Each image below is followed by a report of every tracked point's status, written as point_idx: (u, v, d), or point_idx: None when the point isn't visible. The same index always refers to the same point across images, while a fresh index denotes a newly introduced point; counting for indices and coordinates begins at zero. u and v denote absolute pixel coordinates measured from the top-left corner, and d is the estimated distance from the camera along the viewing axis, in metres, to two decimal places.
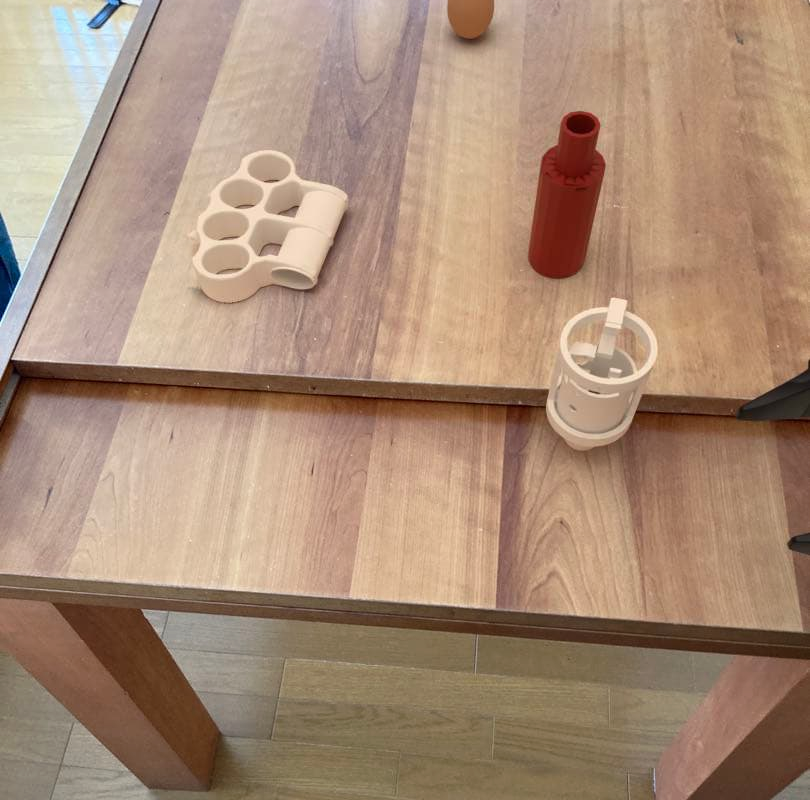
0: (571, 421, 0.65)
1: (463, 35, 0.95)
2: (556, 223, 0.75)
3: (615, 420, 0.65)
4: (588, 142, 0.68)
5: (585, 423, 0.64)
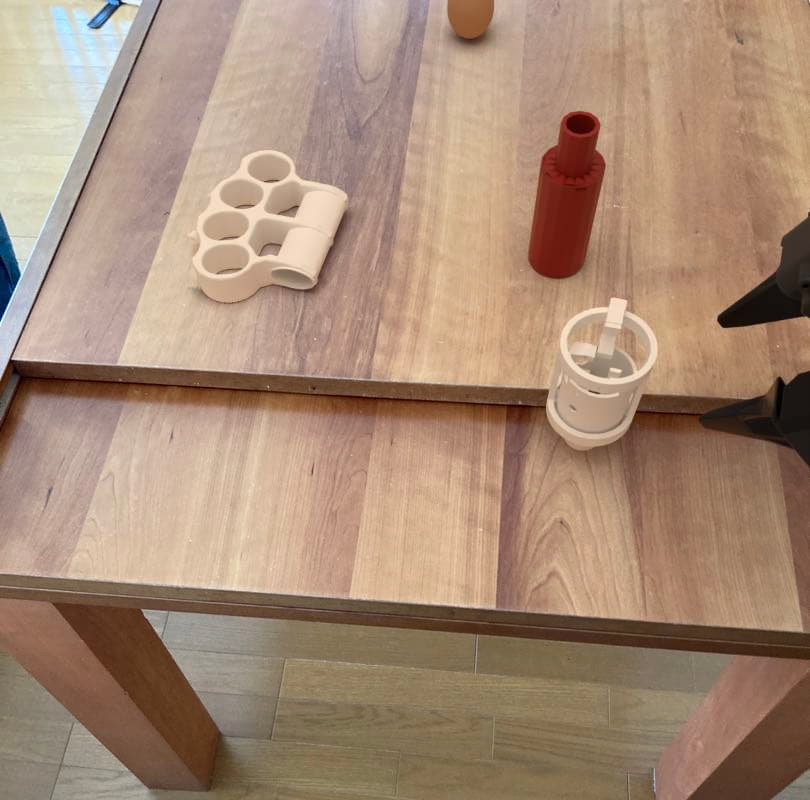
0: (571, 421, 0.65)
1: (463, 35, 0.95)
2: (556, 223, 0.75)
3: (615, 420, 0.65)
4: (588, 142, 0.68)
5: (585, 423, 0.64)
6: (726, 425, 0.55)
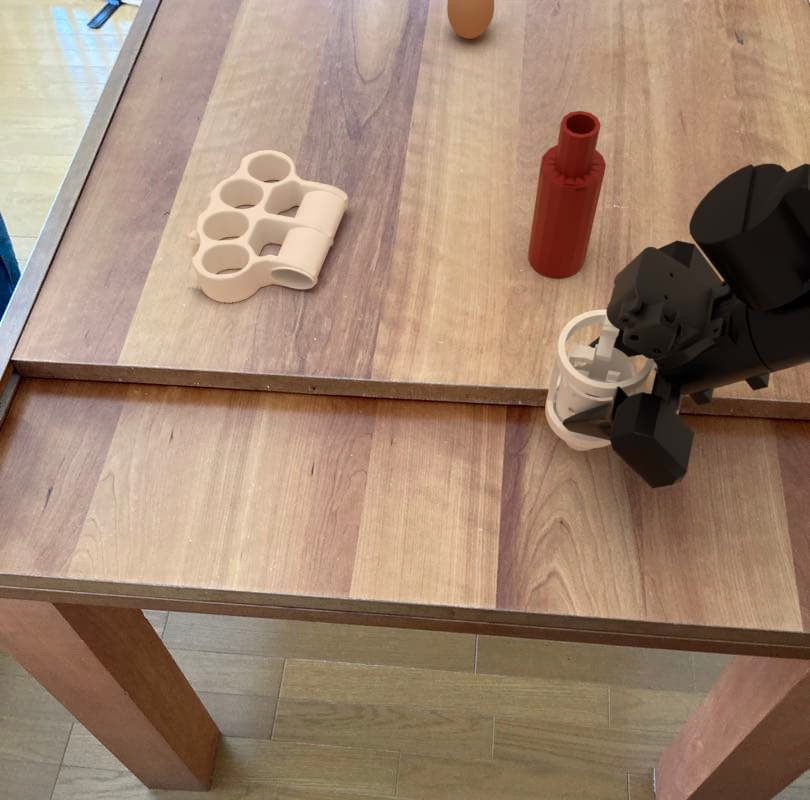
0: None
1: (463, 35, 0.95)
2: (556, 223, 0.75)
3: None
4: (588, 142, 0.68)
5: None
6: (584, 428, 0.62)
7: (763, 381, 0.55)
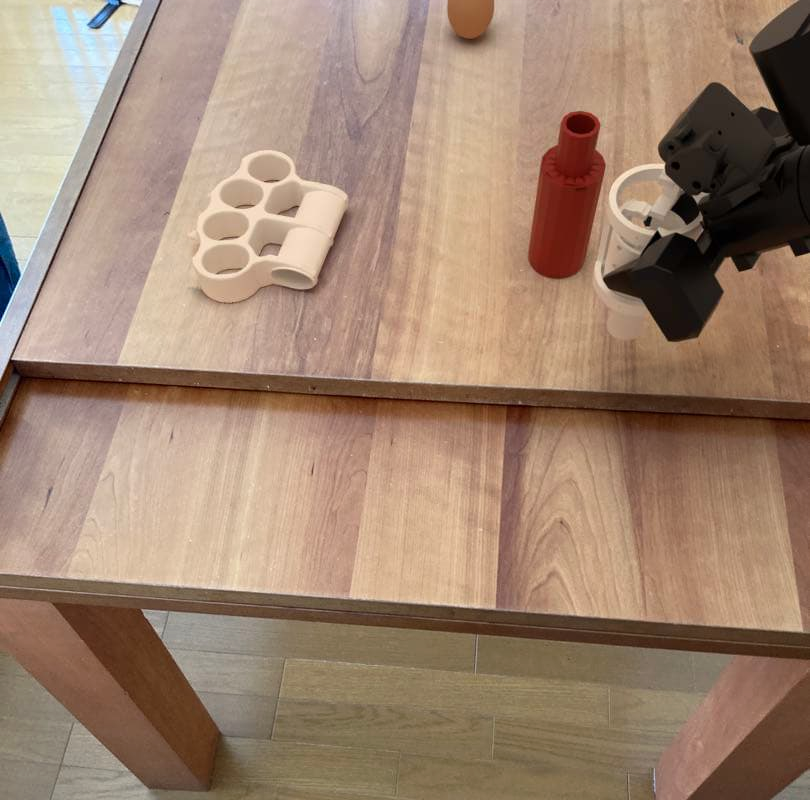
0: None
1: (463, 35, 0.95)
2: (556, 223, 0.75)
3: None
4: (588, 142, 0.68)
5: None
6: (621, 284, 0.61)
7: (806, 245, 0.53)
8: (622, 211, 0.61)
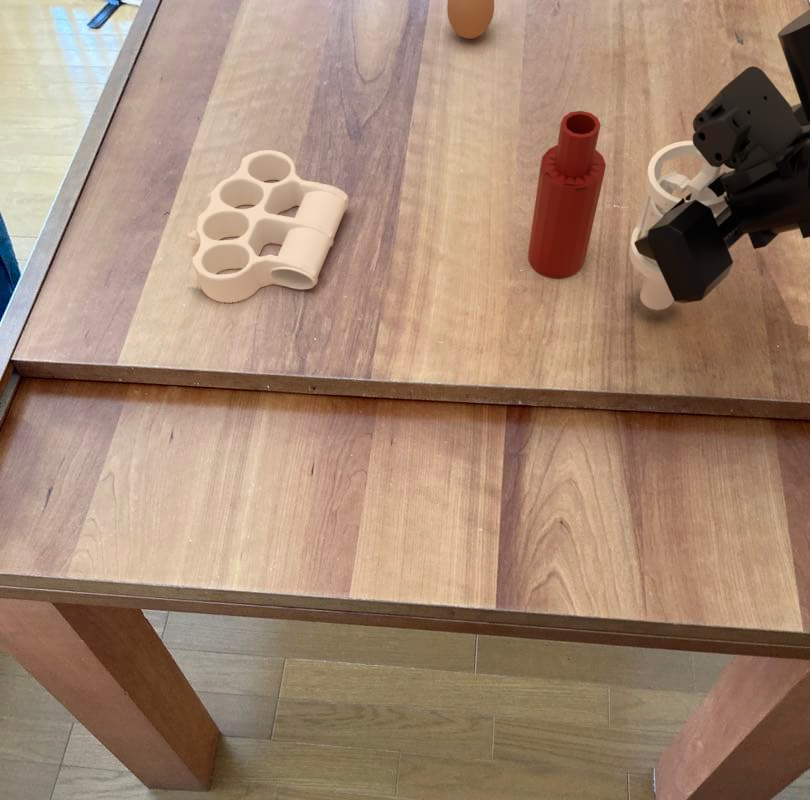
0: None
1: (463, 35, 0.95)
2: (556, 223, 0.75)
3: None
4: (588, 142, 0.68)
5: None
6: (649, 248, 0.66)
7: None
8: (662, 181, 0.66)
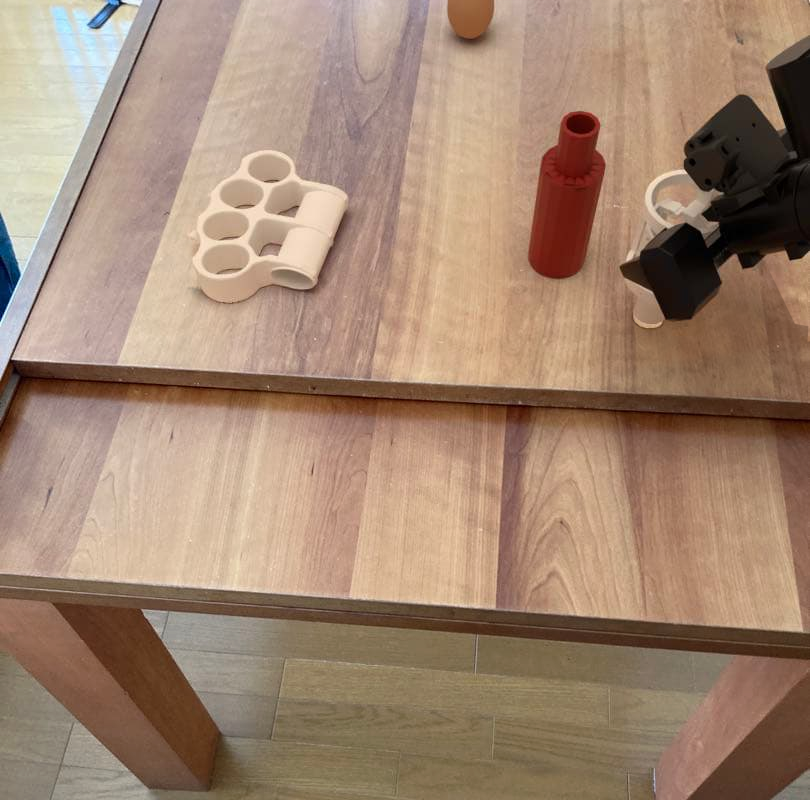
0: None
1: (463, 35, 0.95)
2: (556, 223, 0.75)
3: None
4: (588, 142, 0.68)
5: None
6: (633, 273, 0.68)
7: (799, 251, 0.59)
8: (658, 207, 0.69)
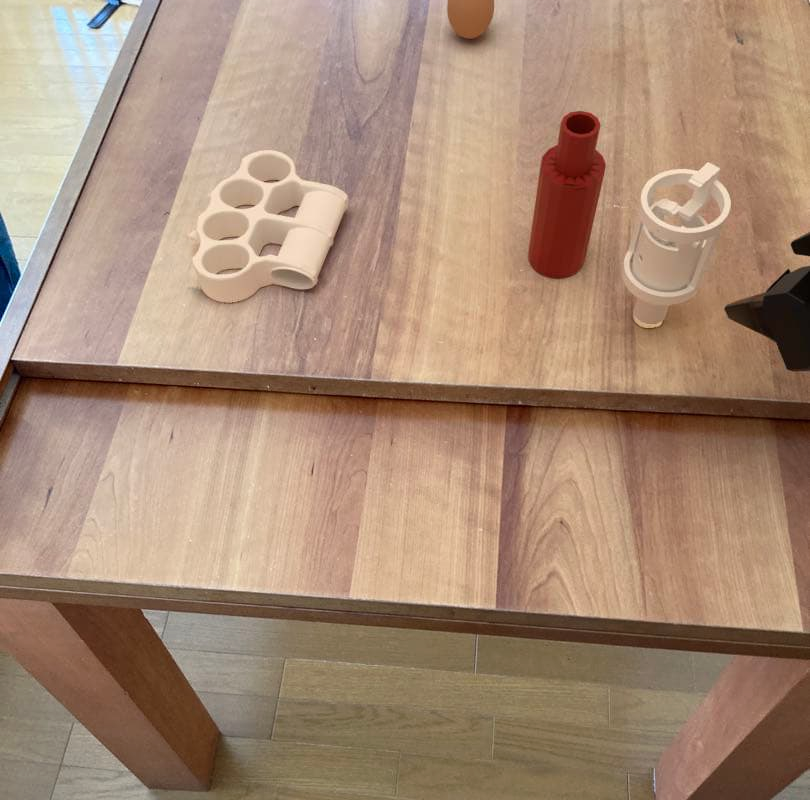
0: (637, 271, 0.72)
1: (463, 35, 0.95)
2: (556, 223, 0.75)
3: (674, 283, 0.70)
4: (588, 142, 0.68)
5: (646, 276, 0.71)
6: (742, 315, 0.62)
7: None
8: (654, 207, 0.69)
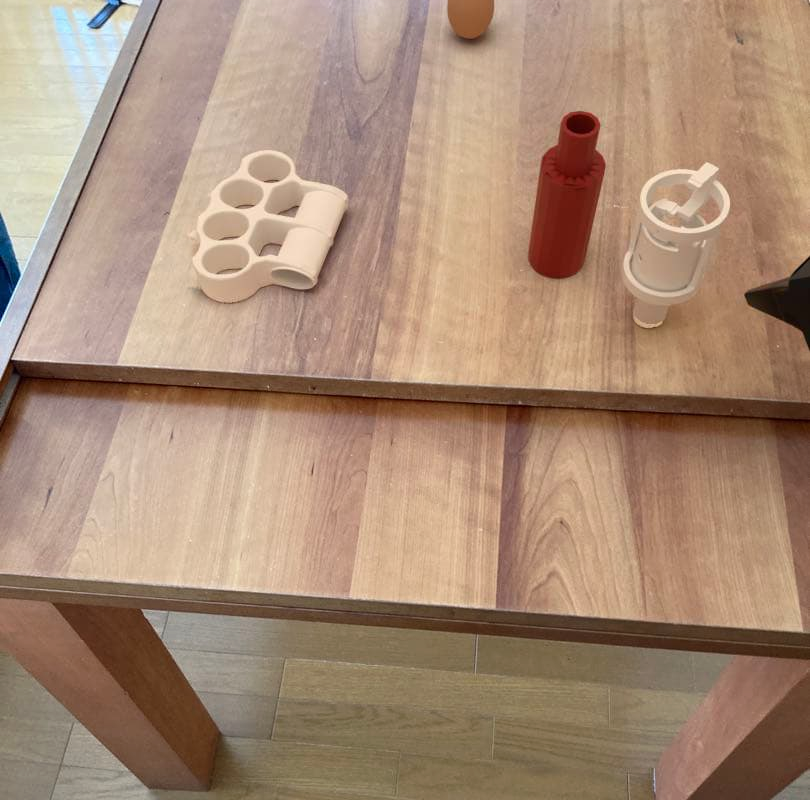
0: (637, 272, 0.72)
1: (463, 35, 0.95)
2: (556, 223, 0.75)
3: (674, 283, 0.70)
4: (588, 142, 0.68)
5: (646, 276, 0.71)
6: (763, 302, 0.60)
7: None
8: (653, 208, 0.69)
